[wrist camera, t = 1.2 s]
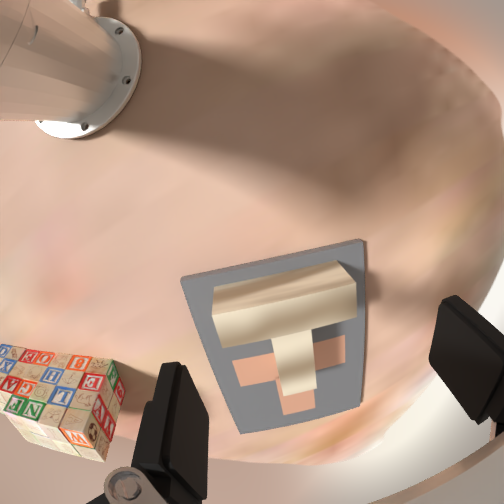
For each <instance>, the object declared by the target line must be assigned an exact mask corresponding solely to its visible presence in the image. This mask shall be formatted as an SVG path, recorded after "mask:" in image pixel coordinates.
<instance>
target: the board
mask: <svg viewBox="0 0 504 504" xmlns="http://www.w3.org/2000/svg"><path fill="white" fill-rule="evenodd" d="M334 260H337V261H338V263H339V264H340V265H341V266H342V267H343V268H344V269H345V271H346V272H347V273H348V274H349V275H350V276H351V277H352V279H353V280H354V281H355V282H356V295H357V317H355V318H352V319H348V320H345V321H341V322H338V323H334V324H330V325H326V326H322V327H319V328H315V329H311V332H312V342H313V352H314V362H315V373H316V384H317V389H313V390H309V391H305V392H301V393H296V394H292V395H288V396H283V392H282V387H281V383H280V378H279V374H278V369H277V365H276V360H275V355H274V351H273V346H272V341H271V339H267V340H263V341H258V342H253V343H248V344H243V345H237V346H232V347H227V348H222V345H221V342H220V339H219V336H218V333H217V330H216V327H215V324H214V321H213V318H212V305H213V293H214V287H216V286H221V285H225V284H230V283H235V282H240V281H245V280H249V279H254V278H259V277H263V276H268V275H272V274H277V273H281V272H286V271H290V270H295V269H299V268H304V267H308V266H313V265H317V264H321V263H326V262H330V261H334ZM180 282H181V285H182V288H183V291H184V294H185V297H186V300H187V303H188V306H189V309H190V312H191V314H192V317H193V320H194V323H195V326H196V328H197V331H198V334H199V336H200V339H201V342H202V344H203V347H204V350H205V352H206V355H207V357H208V360H209V362H210V365H211V367H212V370H213V372H214V375H215V377H216V380H217V382H218V385H219V387H220V389H221V392H222V394H223V396H224V399H225V401H226V403H227V406H228V408H229V410H230V413H231V415H232V417H233V419H234V422H235V424H236V426H237V428H238V430H239V432H240V434H245V433H252V432H258V431H264V430H269V429H274V428H279V427H284V426H289V425H294V424H298V423H302V422H306V421H311V420H314V419H318V418H322V417H326V416H329V415H333V414H336V413H340V412H343V411H346V410H350V409H353V408H356V407H359V406H360V400H361V389H362V376H363V360H364V338H365V270H364V247H363V241H362V240H360V239H355V240H351V241H346V242H342V243H337V244H333V245H328V246H324V247H319V248H315V249H310V250H305V251H301V252H296V253H292V254H287V255H283V256H278V257H273V258H269V259H264V260H260V261H255V262H250V263H246V264H241V265H236V266H231V267H227V268H222V269H217V270H213V271H208V272H203V273H198V274H194V275H189V276H184V277H182V278H181V281H180Z"/></svg>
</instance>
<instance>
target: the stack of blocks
mask: <svg viewBox="0 0 504 504" xmlns="http://www.w3.org/2000/svg"><path fill="white" fill-rule="evenodd" d="M124 395H125V389H124V387H123V384H122V382H121V379H120V377H119V375H118V372H117V370H116V367H115V364H114V362H113V359H104V358H94V357H89V356H79V355H71V354H63V353H50V352H43V351H36V350H29V349H26V348H20V347H15V346H10V345H4V344H1V345H0V413H2V414H5V415H6V416H7V417H8V418H9V420H10V421H11V422H12V424H13V425H14V426H15V427H16V428H17V429H18V431H19V432H20V433H21V434H22V436H23V437H24V438H25V439H26V440H27V441H29V442H32V443H35V444H37V445H40V446H44V447H47V448H50V449H53V450H56V451H61V452H64V453H68V454H72V455H76V456H79V457H83V458H87V459H91V460H96V461H100V462H105V460H106V457H107V453H108V448H109V444H110V442H111V441H112V438H113V434H114V431H115V427H116V422H117V418H118V414H119V411H120V407H121V405H122V401H123V398H124Z"/></svg>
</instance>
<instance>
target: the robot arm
mask: <svg viewBox="0 0 504 504" xmlns="http://www.w3.org/2000/svg"><path fill="white" fill-rule="evenodd" d="M85 3H86V0H0V121H35V122H36V123H37V125H38V126H39V128H41V129H42V130H43V131H44V132H45V133H47V134H49V135H51V136H53V137H57V138H62V139H74V138H81V137H85V136H87V135H90V134H93V133H95V132H97V131H98V130H100V129H102V128H104V127H105V126H106V125H107V124H108V123H110V122H111V121H112V120H113V119H114V118H115V117H116V116H117V115H118V114H119V113H120V112H121V111H122V110H123V108H124V107H125V105H126V104H127V103H128V101H129V100H130V98H131V96H132V94H133V92H134V90H135V88H136V86H137V83H138V79H139V76H140V72H141V65H142V57H141V49H140V45H139V42H138V40H137V38H136V36H135V35H134V33H133V32H132V31H131V30H130V29H129V28H128V27H127V26H126V25H125V24H123V23H122V22H121V21H118V20H116V19H113V18H108V17H92V16H91V15H90V13H89V9H88V8H86V7H85ZM122 32H123V33H122ZM121 33H122V34H121ZM129 80H131V82H130V83H129V84H127V82H128V81H129ZM88 125H89V128H88V129H87V126H88ZM429 362H430V365H431V366H432V367H433V369H434V370H435V371H436V372H437V374H438V375H439V376H440V378H441V379H442V380H443V382H444V383H445V384H446V386H447V387H448V388H449V390H450V391H451V392H452V394H453V395H454V396H455V398H456V399H457V401H458V402H459V403H460V405H461V406H462V407H463V409H464V410H465V412H466V413H467V415H468V416H469V417H470V419H471V420H475V421H476V423H477V424H478V425H479V424H480V423H482V422H484V421H485V420H486V419H488V417H489V416H490V417H491V419H492V423H491V432H490V440H489V443H487V444H486V445H484V446H483V447H482V448H480V449H479V450H477V451H476V452H474V453H472V454H471V455H469V456H468V457H466V458H464V459H463V460H461V461H460V462H458V463H456V464H455V465H452V466H451V467H449V468H447V469H445V470H444V471H442V472H440V473H438V474H436V475H434V476H432V477H430V478H429V479H426V480H424V481H422V482H420V483H418V484H416V485H414V486H411V487H409V488H407V489H405V490H402V491H400V492H398V493H395V494H393V495H390V496H388V497H385V498H382V499H380V500H377V501H374V502H371V503H369V504H504V335H503V334H502V333H501V332H500V331H499V330H498V329H496V328H495V327H494V326H493V325H492V324H491V323H490V322H488V321H487V320H486V319H485V318H484V317H483V316H482V315H480V314H479V313H478V312H477V311H476V310H474V309H473V308H472V307H471V306H470V305H468V304H467V303H466V302H465V301H464V300H462V299H461V298H460V297H459V296H457V295H453V296H450V297H448V298H445V299H443V300H442V302H441V304H440V305H439V309H438V314H437V320H436V325H435V330H434V335H433V340H432V345H431V349H430V353H429ZM208 437H209V416H208V413H207V410H206V408H205V406H204V404H203V402H202V400H201V398H200V396H199V393H198V391H197V389H196V387H195V385H194V383H193V380H192V378H191V376H190V374H189V371H188V369H187V367H186V366H185V365H181V364H180V363H179V362H170V363H163V364H162V365H161V368H160V372H159V376H158V380H157V384H156V388H155V392H154V396H153V400H152V401H148V402H147V403H146V405H145V408H144V412H143V416H142V420H141V424H140V429H139V433H138V437H137V441H136V446H135V450H134V455H133V459H132V464H131V467H120V468H118V469H116V470H114V471H113V472H111V473H110V474H109V475H108V476H107V478H106V479H105V482H104V492H105V493H103V494H102V495H100V496H98V497H97V498H95V499H93V500H92V501H90V502H88V503H86V504H202V500H205V499H206V498H207V470H208Z"/></svg>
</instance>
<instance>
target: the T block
mask: <svg viewBox="0 0 504 504" xmlns="http://www.w3.org/2000/svg"><path fill="white" fill-rule="evenodd" d="M355 317H357V295H356V282H355V281H354V280H353V279H352V277H351V276H350V275H349V274H348V273H347V272H346V271H345V269H344V268H343V267H342V266H341V265H340V264H339V263H338V261H337V260H334V261H330V262H326V263H321V264H317V265H313V266H308V267H304V268H299V269H295V270H290V271H286V272H281V273H277V274H272V275H268V276H263V277H259V278H254V279H249V280H245V281H240V282H235V283H230V284H225V285H221V286H216V287H214V293H213V305H212V318H213V321H214V324H215V327H216V330H217V333H218V336H219V339H220V342H221V345H222V348H227V347H232V346H237V345H243V344H248V343H253V342H258V341H263V340H267V339H271V341H272V346H273V351H274V355H275V360H276V365H277V369H278V374H279V378H280V383H281V387H282V392H283V396H288V395H292V394H296V393H301V392H305V391H309V390H313V389H317V384H316V373H315V362H314V352H313V342H312V332H311V329H315V328H319V327H322V326H326V325H330V324H334V323H338V322H341V321H345V320H348V319H352V318H355Z"/></svg>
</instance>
